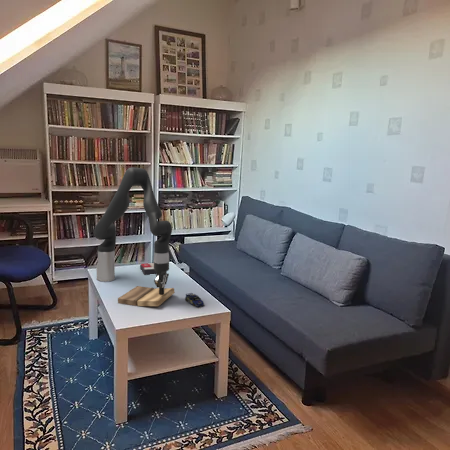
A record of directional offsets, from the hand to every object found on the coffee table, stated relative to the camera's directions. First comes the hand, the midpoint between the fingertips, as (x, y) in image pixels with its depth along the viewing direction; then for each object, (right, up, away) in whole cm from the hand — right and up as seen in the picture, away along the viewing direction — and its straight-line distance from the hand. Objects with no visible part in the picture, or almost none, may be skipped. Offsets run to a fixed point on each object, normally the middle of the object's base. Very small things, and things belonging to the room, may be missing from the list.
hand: (161, 294), depth 200 cm
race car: (+17, -5, 0) cm, 18 cm away
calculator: (-15, +5, +51) cm, 53 cm away
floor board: (-13, -3, +4) cm, 14 cm away
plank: (-3, -3, +1) cm, 4 cm away
